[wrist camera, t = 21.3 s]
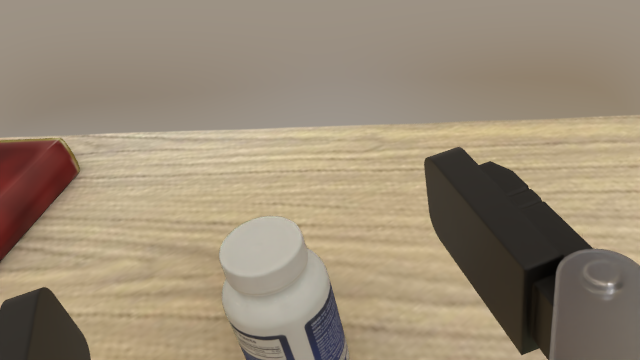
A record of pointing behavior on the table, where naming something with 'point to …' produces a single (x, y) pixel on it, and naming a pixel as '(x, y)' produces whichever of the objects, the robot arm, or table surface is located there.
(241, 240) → the pill bottle
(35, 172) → the hardcover book
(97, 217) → the table surface
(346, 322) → the table surface
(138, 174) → the table surface
